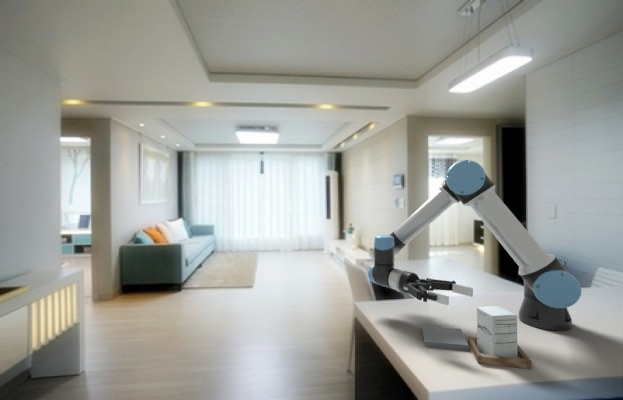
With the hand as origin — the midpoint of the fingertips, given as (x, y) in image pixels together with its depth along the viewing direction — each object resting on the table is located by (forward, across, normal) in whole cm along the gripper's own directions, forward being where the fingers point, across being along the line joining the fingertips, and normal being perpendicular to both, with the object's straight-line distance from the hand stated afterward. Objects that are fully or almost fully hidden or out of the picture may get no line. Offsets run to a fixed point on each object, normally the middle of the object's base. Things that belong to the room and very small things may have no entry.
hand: (460, 296), depth 97 cm
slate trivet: (-4, +3, -14) cm, 15 cm away
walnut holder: (+10, 0, -14) cm, 17 cm away
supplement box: (+10, 0, -14) cm, 18 cm away
